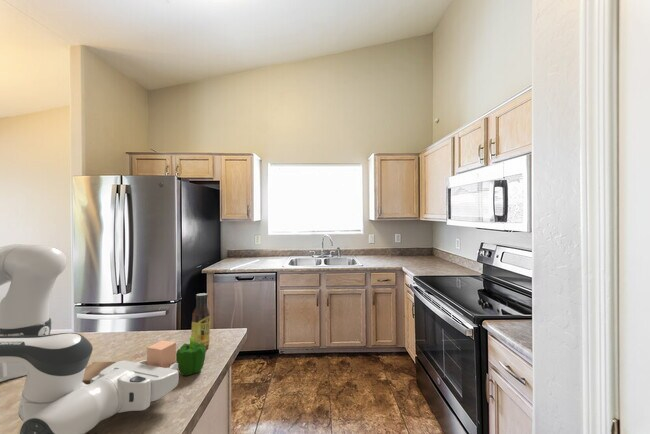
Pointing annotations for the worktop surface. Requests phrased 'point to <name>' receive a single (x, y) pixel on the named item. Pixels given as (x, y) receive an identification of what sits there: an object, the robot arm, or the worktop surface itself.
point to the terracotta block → (161, 354)
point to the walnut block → (94, 370)
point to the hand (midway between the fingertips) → (164, 362)
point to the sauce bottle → (201, 321)
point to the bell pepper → (190, 357)
